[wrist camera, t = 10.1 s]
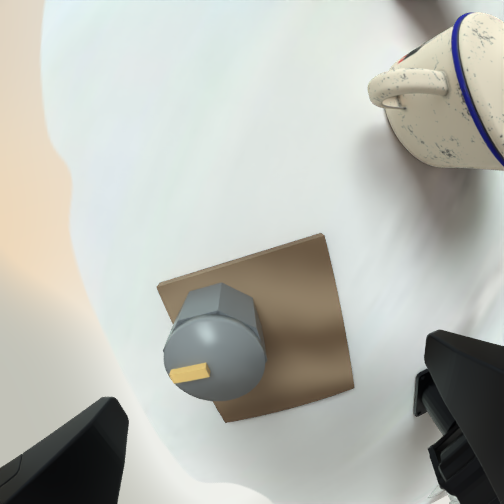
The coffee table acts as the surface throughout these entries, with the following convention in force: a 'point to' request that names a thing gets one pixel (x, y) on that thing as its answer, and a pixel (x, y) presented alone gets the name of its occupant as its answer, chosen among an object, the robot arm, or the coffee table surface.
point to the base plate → (283, 324)
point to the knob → (216, 344)
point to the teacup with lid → (450, 96)
